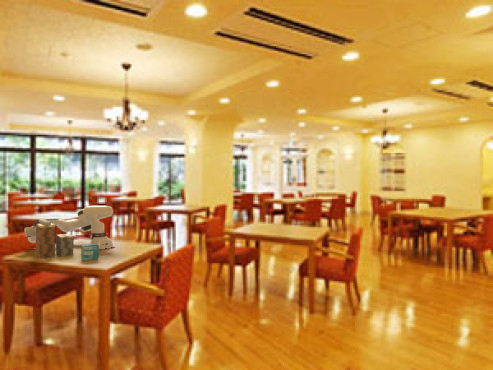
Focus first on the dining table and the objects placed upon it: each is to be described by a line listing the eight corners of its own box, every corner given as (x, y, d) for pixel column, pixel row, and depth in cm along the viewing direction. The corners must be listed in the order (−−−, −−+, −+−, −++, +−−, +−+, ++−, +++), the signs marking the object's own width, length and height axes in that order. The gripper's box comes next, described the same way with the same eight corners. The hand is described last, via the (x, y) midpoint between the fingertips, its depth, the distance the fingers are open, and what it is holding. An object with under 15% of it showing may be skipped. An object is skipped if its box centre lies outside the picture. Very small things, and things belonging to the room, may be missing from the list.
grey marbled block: (68, 252, 313) (68, 233, 313) (73, 254, 304) (73, 235, 304) (55, 253, 307) (56, 234, 307) (60, 256, 297) (60, 236, 297)
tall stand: (50, 254, 304) (51, 223, 304) (54, 256, 294) (55, 224, 294) (35, 255, 297) (36, 223, 296) (39, 258, 287) (40, 225, 287)
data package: (82, 261, 283) (82, 245, 283) (81, 260, 287) (81, 244, 286) (98, 259, 290) (98, 244, 290) (96, 258, 294) (97, 243, 294)
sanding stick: (43, 222, 308) (43, 219, 308) (50, 225, 292) (50, 221, 292) (38, 222, 305) (38, 219, 305) (45, 225, 289) (45, 222, 289)
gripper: (49, 235, 323) (53, 228, 314) (23, 236, 309) (26, 230, 300) (49, 228, 325) (52, 222, 316) (22, 230, 312) (25, 223, 303)
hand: (39, 226), depth 308 cm, fingers open, 8 cm apart
